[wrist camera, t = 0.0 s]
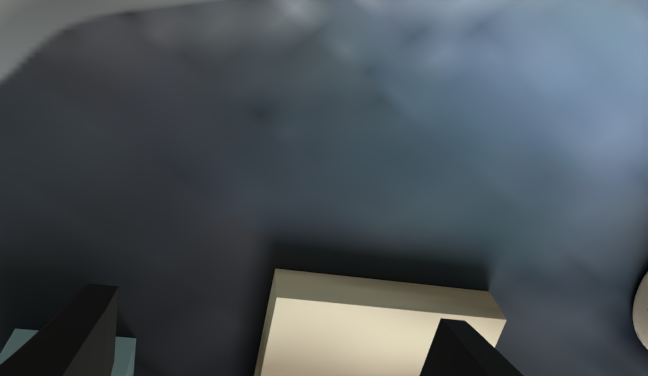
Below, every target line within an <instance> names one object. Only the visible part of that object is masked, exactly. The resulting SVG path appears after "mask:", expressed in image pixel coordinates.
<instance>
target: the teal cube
mask: <svg viewBox="0 0 648 376" xmlns="http://www.w3.org/2000/svg"><path fill="white" fill-rule="evenodd" d="M37 332H38V330H26V329H15V330H14V331H13V333H12V335H11V336H10V338H9V340H8V342H7V343H6V345H5V347H4V348H3V350H2V352H1V353H0V364H1V363H3V362H4V361H5V360H6V359H7V358H9V357H10V356H11V355H12V354H13V353H15V352H16V351H17V350H18V349H19V348H20V347H21V346H23V345H24V344H25V343H26V342H27V341H28V340H29V339H30V338H31V337H32V336H34V335H35V334H36V333H37ZM135 348H136V338H126V337H116V342H115V359H114V364H113V368H112V372H111V376H133V374H134V361H135Z"/></svg>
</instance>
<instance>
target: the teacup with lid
mask: <svg viewBox="0 0 648 376" xmlns="http://www.w3.org/2000/svg"><path fill="white" fill-rule="evenodd" d="M633 324H634V327H635V331H636V333H637V336H638V337H639V339H640V341H641V342H642V344H643V345H644V346H645V347H646V348H647V349H648V272H647V273H646V275H645V276H644V278H643V280H642V281H641V283H640V286H639V288H638V290H637V293H636V296H635V300H634V305H633Z"/></svg>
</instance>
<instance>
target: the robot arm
mask: <svg viewBox="0 0 648 376" xmlns="http://www.w3.org/2000/svg"><path fill="white" fill-rule="evenodd" d="M118 291H119V287H117V286H107V285H97V284H87V285H85V286H84V287H82V288H81V289H80V290H79V292H78V293H77V294H76V295H75V296H74V297H73V298H72V299H71V300H70V301H69V302H68V303H67V304H66V305H65V306H64V307H63V308H62V309H61V310H60V311H59V312H58V313H57V314H56V315H55V316H54V317H53V318H52V319H51V320H50V321H49V322H48V323H47V324H46V325H45V326H43V327H42V328H41V329H40V330H39V331H38V332H37V333H36V334H35V335H34V336H32V337H31V338H30V339H29V340H28V341H27V342H26V343H25V344H24V345H23V346H21V347H20V348H19V349H18V350H17V351H16V352H15V353H13V354H12V355H11V356H10V357H9V358H7V359H6V360H5V361H4V362H3V363H1V364H0V376H111V372H112V368H113V364H114V359H115V342H116V325H117V308H118ZM420 376H523V375H522V374H521V373H520V372H519V371H518V370H517V369H516V368H515V367H514V366H513V365H512V364H511V363H510V362H509V361H508V360H507V359H506V358H505V357H503V356H502V355H501V354H500V353H499V352H498V351H497V350H496V349H495V348H494V347H493V346H492V345H491V344H490V343H489V342H488V341H487V340H486V339H485V338H484V337H483V336H482V335H481V334H480V333H479V332H477V331H476V330H475V329H474V328H473V327H472V326H471V325H470V324H468V323H467V322H466V321H464V320H454V319H444V318H441V319H440V322H439V324H438V327H437V330H436V332H435V335H434V338H433V340H432V343H431V346H430V349H429V351H428V354H427V357H426V359H425V362H424V365H423V367H422V370H421V373H420Z"/></svg>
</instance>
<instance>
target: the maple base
mask: <svg viewBox="0 0 648 376" xmlns="http://www.w3.org/2000/svg"><path fill="white" fill-rule="evenodd" d="M441 318H444V319H454V320H464V321H466V322H467V323H468V324H470V325H471V326H472V327H473V328H474V329H475V330H476V331H477V332H479V333H480V334H481V335H482V336H483V337H484V338H485V339H486V340H487V341H488V342H489V343H490V344H491V345H492V346H493V347H494V348H495V345H496V343H497V341H498V338H499V336H500V334H501V332H502V329H503V327H504V325H505V322H506V318H505V317H504V315H503V313H502V312H501V310H500V309H499V307H498V305H497V304H496V302H495V301H494V299H493V297H492V296H491V294H490V292H489V291H479V290H470V289H461V288H451V287H442V286H433V285H423V284H414V283H405V282H396V281H386V280H377V279H368V278H358V277H349V276H340V275H330V274H321V273H312V272H303V271H293V270H284V269H275V272H274V277H273V282H272V287H271V292H270V297H269V302H268V307H267V312H266V317H265V322H264V327H263V332H262V338H261V343H260V348H259V353H258V358H257V363H256V368H255V373H254V376H420V373H421V370H422V367H423V365H424V362H425V359H426V357H427V354H428V351H429V349H430V346H431V343H432V340H433V338H434V335H435V332H436V330H437V327H438V324H439V322H440V319H441Z"/></svg>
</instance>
